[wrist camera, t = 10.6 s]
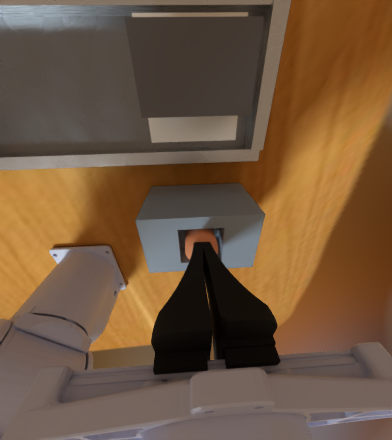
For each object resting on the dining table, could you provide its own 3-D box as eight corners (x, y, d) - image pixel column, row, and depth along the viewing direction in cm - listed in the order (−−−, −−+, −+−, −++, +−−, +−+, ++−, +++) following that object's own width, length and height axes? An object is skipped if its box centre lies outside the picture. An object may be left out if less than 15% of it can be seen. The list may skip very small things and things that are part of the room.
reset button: (213, 243, 16) (217, 261, 14) (185, 245, 16) (186, 263, 14) (214, 220, 15) (219, 237, 13) (184, 222, 15) (184, 239, 13)
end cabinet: (234, 225, 22) (252, 266, 16) (159, 229, 21) (149, 272, 15) (239, 182, 18) (265, 214, 13) (151, 186, 18) (135, 220, 12)
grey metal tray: (248, 154, 17) (260, 162, 14) (-2, 163, 16) (-41, 173, 13) (270, 4, 11) (297, -32, 9) (-107, 5, 10) (-212, -34, 8)
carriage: (227, 136, 14) (255, 149, 8) (157, 138, 14) (137, 153, 8) (234, 35, 11) (289, -58, 5) (143, 36, 11) (94, -60, 5)
